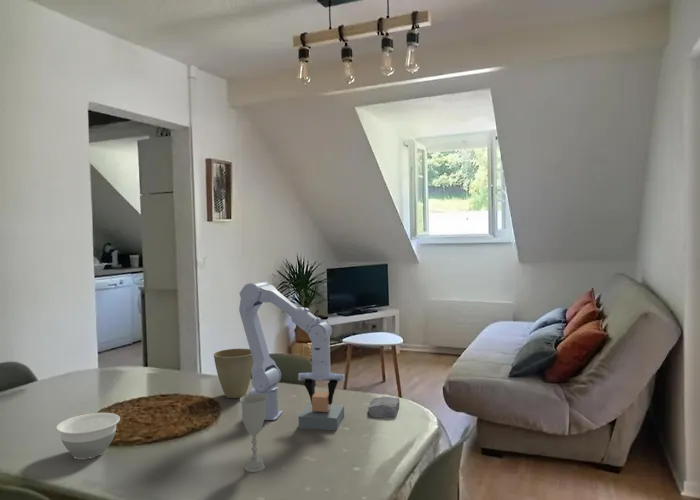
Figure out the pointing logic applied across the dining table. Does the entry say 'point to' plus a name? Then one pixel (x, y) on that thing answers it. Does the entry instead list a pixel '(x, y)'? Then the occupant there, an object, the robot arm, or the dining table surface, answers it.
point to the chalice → (253, 425)
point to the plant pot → (234, 371)
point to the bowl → (88, 433)
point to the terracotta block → (320, 402)
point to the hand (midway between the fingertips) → (321, 403)
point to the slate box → (321, 418)
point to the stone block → (384, 407)
